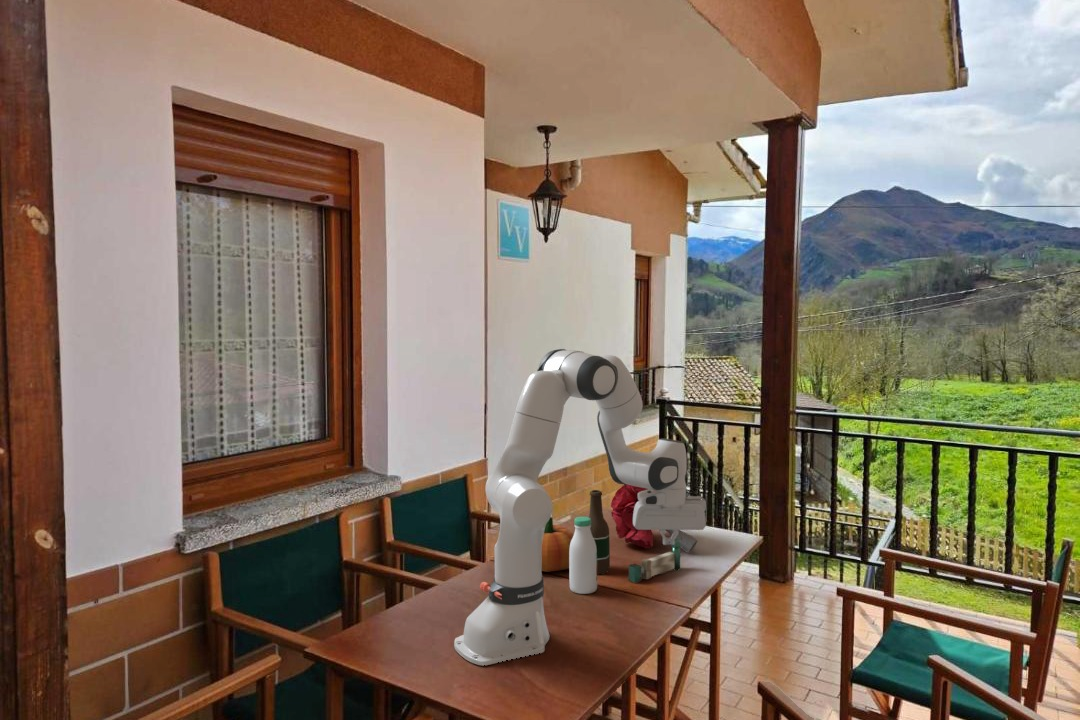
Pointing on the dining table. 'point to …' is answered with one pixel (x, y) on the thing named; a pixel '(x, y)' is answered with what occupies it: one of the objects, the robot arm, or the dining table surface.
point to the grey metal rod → (660, 573)
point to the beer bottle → (599, 532)
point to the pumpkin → (555, 547)
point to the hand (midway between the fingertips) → (668, 544)
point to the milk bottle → (583, 558)
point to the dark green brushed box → (635, 572)
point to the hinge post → (676, 554)
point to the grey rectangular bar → (657, 565)
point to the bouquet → (624, 520)
